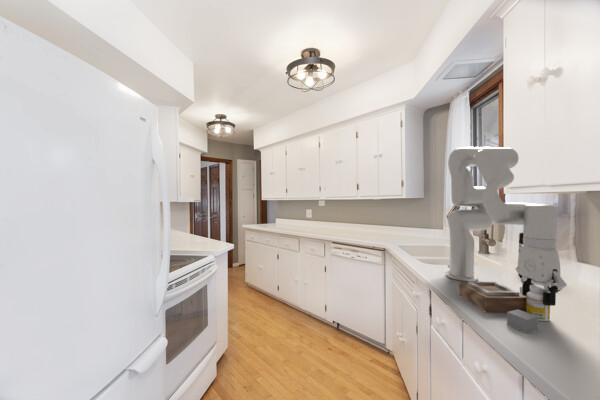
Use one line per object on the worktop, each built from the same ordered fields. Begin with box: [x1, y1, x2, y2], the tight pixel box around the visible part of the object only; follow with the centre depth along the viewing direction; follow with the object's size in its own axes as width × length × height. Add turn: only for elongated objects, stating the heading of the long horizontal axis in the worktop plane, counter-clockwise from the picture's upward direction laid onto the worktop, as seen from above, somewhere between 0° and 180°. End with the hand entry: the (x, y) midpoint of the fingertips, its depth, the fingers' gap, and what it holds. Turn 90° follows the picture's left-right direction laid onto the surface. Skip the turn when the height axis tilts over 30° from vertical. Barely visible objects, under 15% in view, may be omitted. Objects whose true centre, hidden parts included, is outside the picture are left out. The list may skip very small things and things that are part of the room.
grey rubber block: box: [506, 309, 539, 334], centre depth 73 cm, size 5×5×4 cm
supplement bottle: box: [526, 284, 551, 322], centre depth 79 cm, size 5×5×10 cm
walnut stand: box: [458, 281, 527, 314], centre depth 89 cm, size 14×14×6 cm
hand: (538, 299), depth 79 cm, fingers open, 6 cm apart
